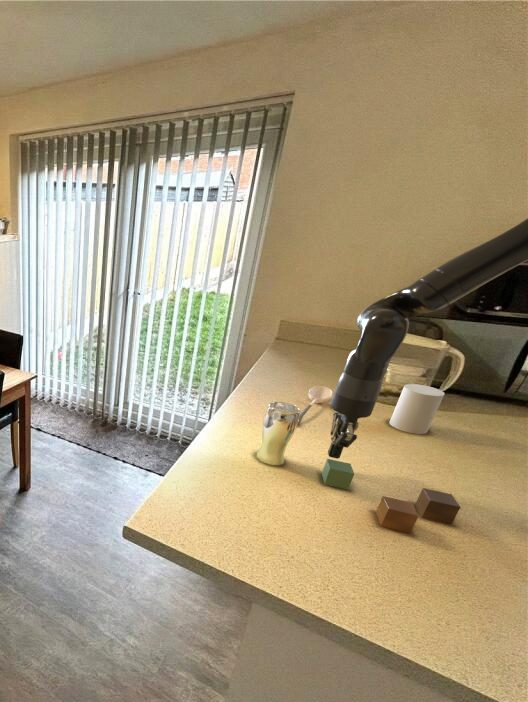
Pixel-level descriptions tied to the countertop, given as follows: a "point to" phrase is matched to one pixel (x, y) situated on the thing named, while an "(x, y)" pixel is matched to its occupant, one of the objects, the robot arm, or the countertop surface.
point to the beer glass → (277, 431)
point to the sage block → (337, 474)
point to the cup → (416, 408)
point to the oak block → (396, 514)
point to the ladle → (316, 398)
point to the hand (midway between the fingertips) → (333, 456)
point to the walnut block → (437, 506)
